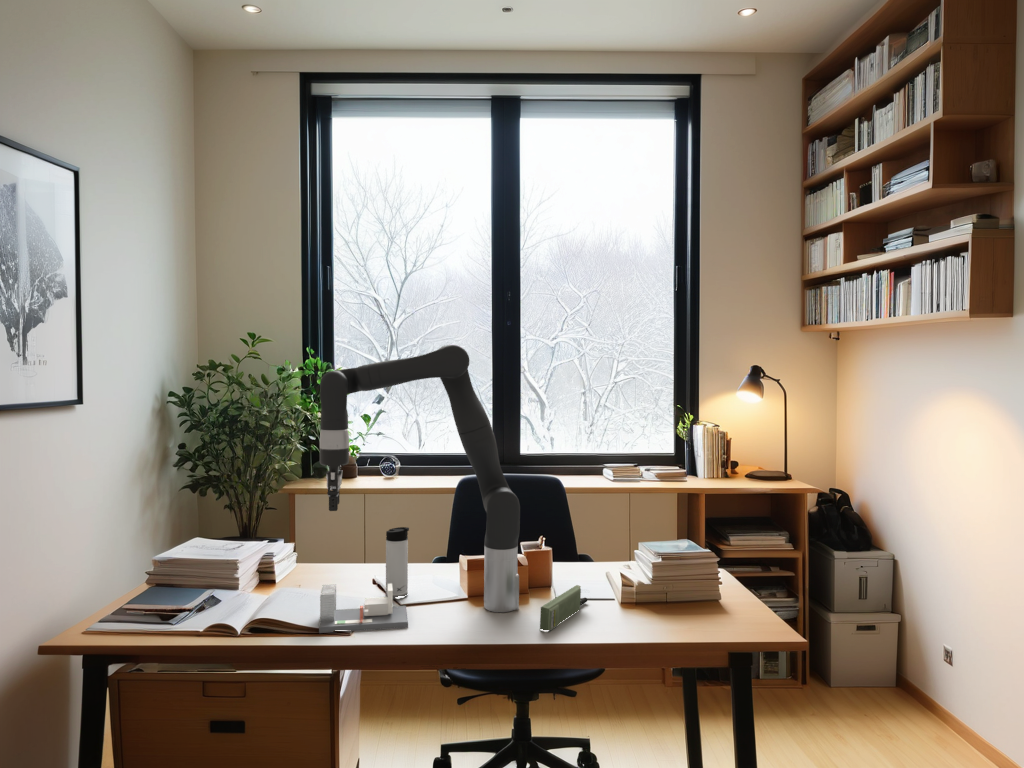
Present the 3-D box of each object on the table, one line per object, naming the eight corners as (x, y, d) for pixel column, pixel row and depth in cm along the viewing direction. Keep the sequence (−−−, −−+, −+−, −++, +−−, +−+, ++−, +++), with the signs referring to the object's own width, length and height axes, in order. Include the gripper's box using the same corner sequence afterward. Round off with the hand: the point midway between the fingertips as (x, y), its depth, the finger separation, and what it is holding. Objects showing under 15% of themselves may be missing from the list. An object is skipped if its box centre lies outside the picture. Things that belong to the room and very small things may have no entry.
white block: (392, 607, 189) (392, 583, 188) (392, 617, 181) (392, 592, 181) (364, 608, 187) (364, 584, 187) (364, 619, 180) (364, 594, 179)
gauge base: (406, 611, 191) (406, 604, 191) (407, 627, 179) (408, 620, 179) (322, 615, 187) (322, 609, 187) (319, 633, 175) (319, 626, 175)
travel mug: (404, 600, 199) (404, 530, 199) (382, 598, 201) (382, 529, 200) (411, 593, 206) (412, 525, 205) (390, 591, 207) (390, 524, 206)
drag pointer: (363, 617, 181) (363, 605, 181) (362, 622, 177) (362, 611, 177) (360, 617, 181) (360, 605, 181) (359, 623, 177) (359, 611, 177)
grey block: (336, 610, 187) (336, 584, 187) (334, 621, 179) (334, 594, 179) (322, 611, 186) (322, 584, 186) (320, 622, 178) (320, 594, 178)
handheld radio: (537, 631, 178) (579, 602, 200) (548, 634, 177) (590, 605, 198) (538, 605, 178) (580, 579, 199) (550, 608, 176) (591, 582, 198)
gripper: (347, 449, 178) (347, 512, 179) (349, 443, 192) (349, 501, 193) (317, 449, 177) (317, 513, 178) (321, 443, 191) (321, 502, 192)
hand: (334, 507), depth 185 cm, fingers open, 8 cm apart
